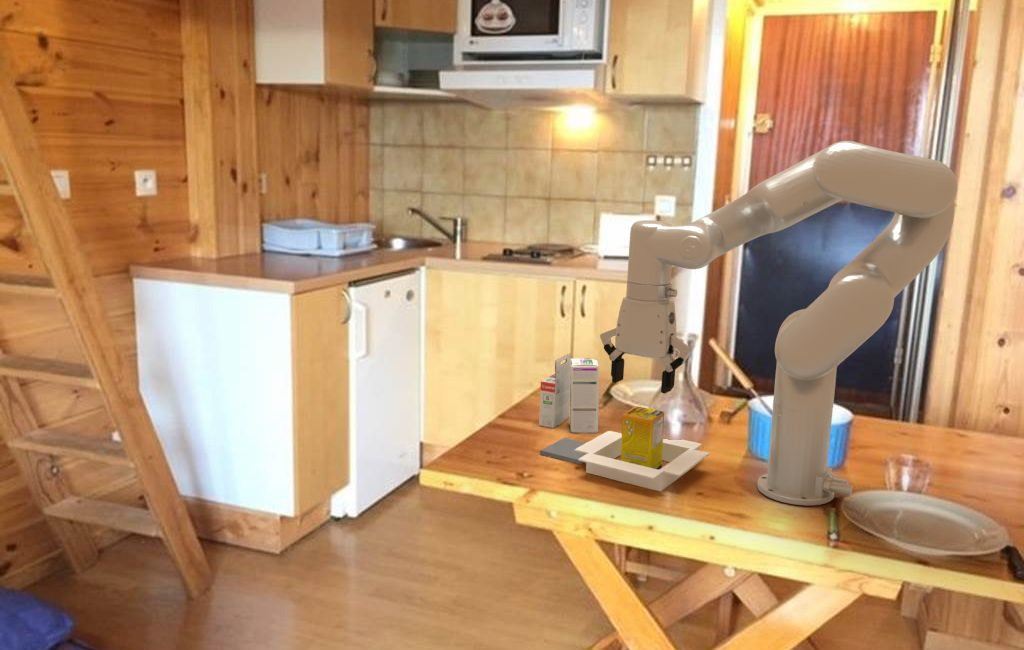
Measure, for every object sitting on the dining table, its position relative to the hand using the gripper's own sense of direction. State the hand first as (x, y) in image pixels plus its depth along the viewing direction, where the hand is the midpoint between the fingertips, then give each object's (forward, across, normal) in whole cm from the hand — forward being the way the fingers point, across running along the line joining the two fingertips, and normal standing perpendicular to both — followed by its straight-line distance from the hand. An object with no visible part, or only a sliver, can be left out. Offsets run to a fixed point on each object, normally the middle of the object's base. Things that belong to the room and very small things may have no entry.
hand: (641, 386), depth 153 cm
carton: (+16, -1, 0) cm, 16 cm away
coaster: (+16, +14, 0) cm, 21 cm away
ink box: (+16, +26, -14) cm, 34 cm away
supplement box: (+16, -1, 0) cm, 16 cm away
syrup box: (+16, +19, -14) cm, 29 cm away
